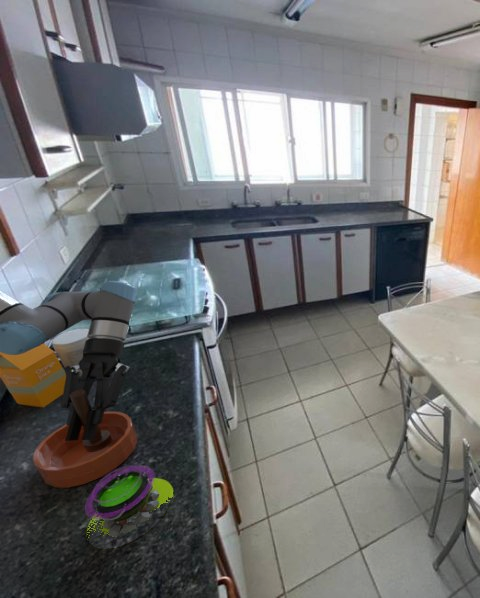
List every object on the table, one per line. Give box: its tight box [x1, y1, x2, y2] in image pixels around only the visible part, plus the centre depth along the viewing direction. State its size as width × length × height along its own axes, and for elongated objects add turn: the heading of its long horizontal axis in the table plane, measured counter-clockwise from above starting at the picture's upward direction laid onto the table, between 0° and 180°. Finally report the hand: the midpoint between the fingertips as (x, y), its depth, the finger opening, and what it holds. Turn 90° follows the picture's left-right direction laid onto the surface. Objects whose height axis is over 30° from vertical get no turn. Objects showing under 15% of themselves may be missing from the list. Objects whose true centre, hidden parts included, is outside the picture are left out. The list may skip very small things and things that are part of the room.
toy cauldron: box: [84, 465, 174, 538], centre depth 68 cm, size 15×15×11 cm
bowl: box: [32, 410, 138, 489], centre depth 81 cm, size 18×18×6 cm
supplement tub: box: [51, 328, 89, 380], centre depth 106 cm, size 10×10×15 cm
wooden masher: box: [69, 390, 112, 452], centre depth 78 cm, size 5×5×16 cm
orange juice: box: [0, 342, 66, 408], centre depth 93 cm, size 8×9×20 cm
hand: (79, 439), depth 76 cm, fingers closed on wooden masher, 3 cm apart
